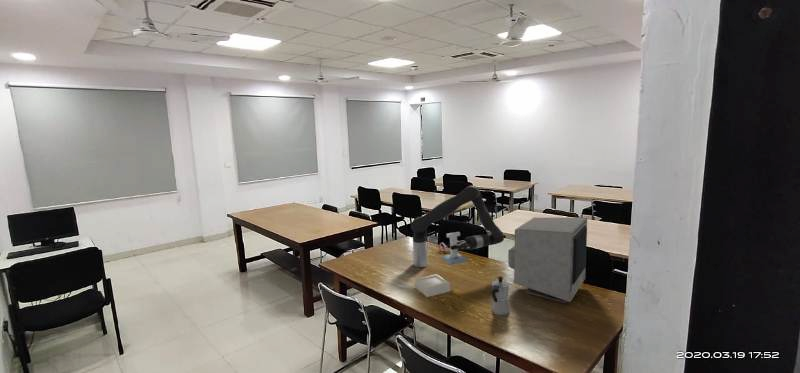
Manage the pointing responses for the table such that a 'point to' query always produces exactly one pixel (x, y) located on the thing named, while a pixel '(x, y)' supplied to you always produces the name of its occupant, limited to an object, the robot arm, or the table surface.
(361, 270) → the table surface
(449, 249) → the pink and white arrow
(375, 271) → the table surface
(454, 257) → the snap cover
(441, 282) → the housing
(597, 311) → the table surface
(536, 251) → the crt monitor
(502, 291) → the coffee maker
